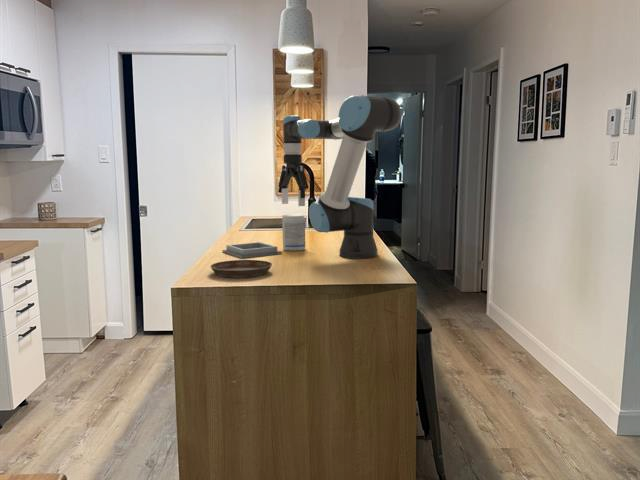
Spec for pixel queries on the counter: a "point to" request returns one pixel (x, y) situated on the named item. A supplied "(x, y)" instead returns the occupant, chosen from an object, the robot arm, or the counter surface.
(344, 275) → the counter surface
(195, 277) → the counter surface
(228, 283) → the counter surface
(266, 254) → the board
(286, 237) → the supplement tub
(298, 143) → the robot arm
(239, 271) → the plant saucer
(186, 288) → the counter surface
